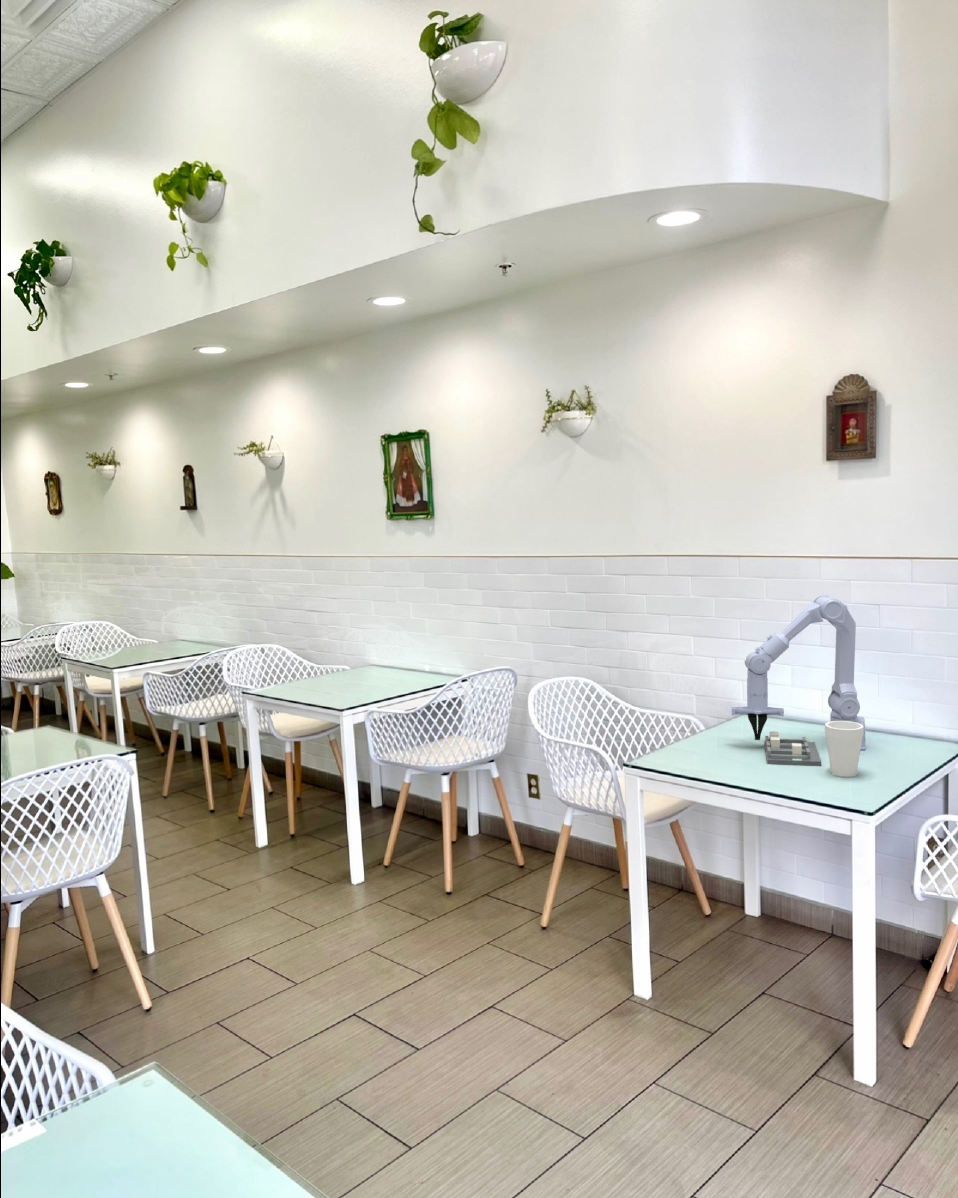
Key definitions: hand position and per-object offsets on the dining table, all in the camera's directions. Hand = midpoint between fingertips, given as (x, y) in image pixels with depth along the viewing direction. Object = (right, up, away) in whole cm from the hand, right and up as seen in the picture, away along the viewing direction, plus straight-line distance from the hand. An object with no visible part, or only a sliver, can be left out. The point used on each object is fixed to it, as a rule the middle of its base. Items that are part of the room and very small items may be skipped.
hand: (757, 739), depth 275 cm
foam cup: (+15, -5, -26) cm, 31 cm away
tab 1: (+4, -1, -1) cm, 5 cm away
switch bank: (+7, -3, -8) cm, 11 cm away
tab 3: (+7, -3, -14) cm, 16 cm away
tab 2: (+3, -2, -7) cm, 8 cm away
